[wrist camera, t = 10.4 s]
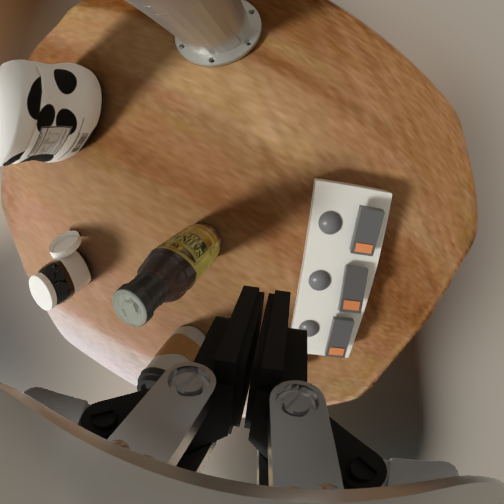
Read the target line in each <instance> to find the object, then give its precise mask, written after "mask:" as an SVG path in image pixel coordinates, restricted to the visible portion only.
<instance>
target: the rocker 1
mask: <svg viewBox="0 0 504 504" xmlns="http://www.w3.org/2000/svg"><path fill="white" fill-rule="evenodd" d="M353 326H354V320H353V318H344V317H335V316H333V320H332V324H331V328H330V332H329V336H328V340H327V344H326V348H325V356H330V357H342V358H345V355H346V351H347V348H348V344H349V341H350V337H351V333H352V330H353Z"/></svg>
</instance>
